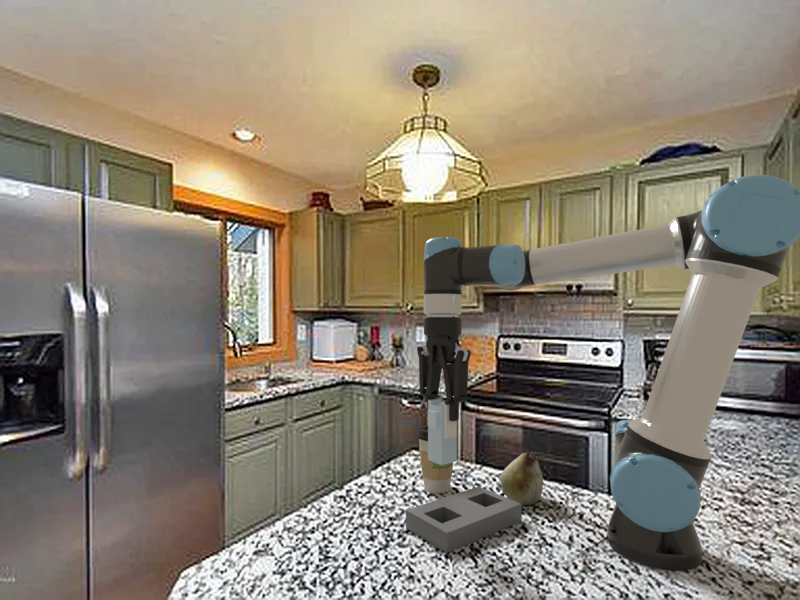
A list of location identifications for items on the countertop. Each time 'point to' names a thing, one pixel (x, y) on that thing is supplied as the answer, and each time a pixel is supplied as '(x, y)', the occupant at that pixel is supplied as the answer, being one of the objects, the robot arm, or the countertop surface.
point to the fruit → (523, 479)
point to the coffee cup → (433, 467)
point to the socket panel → (463, 518)
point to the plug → (439, 437)
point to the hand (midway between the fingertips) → (442, 434)
